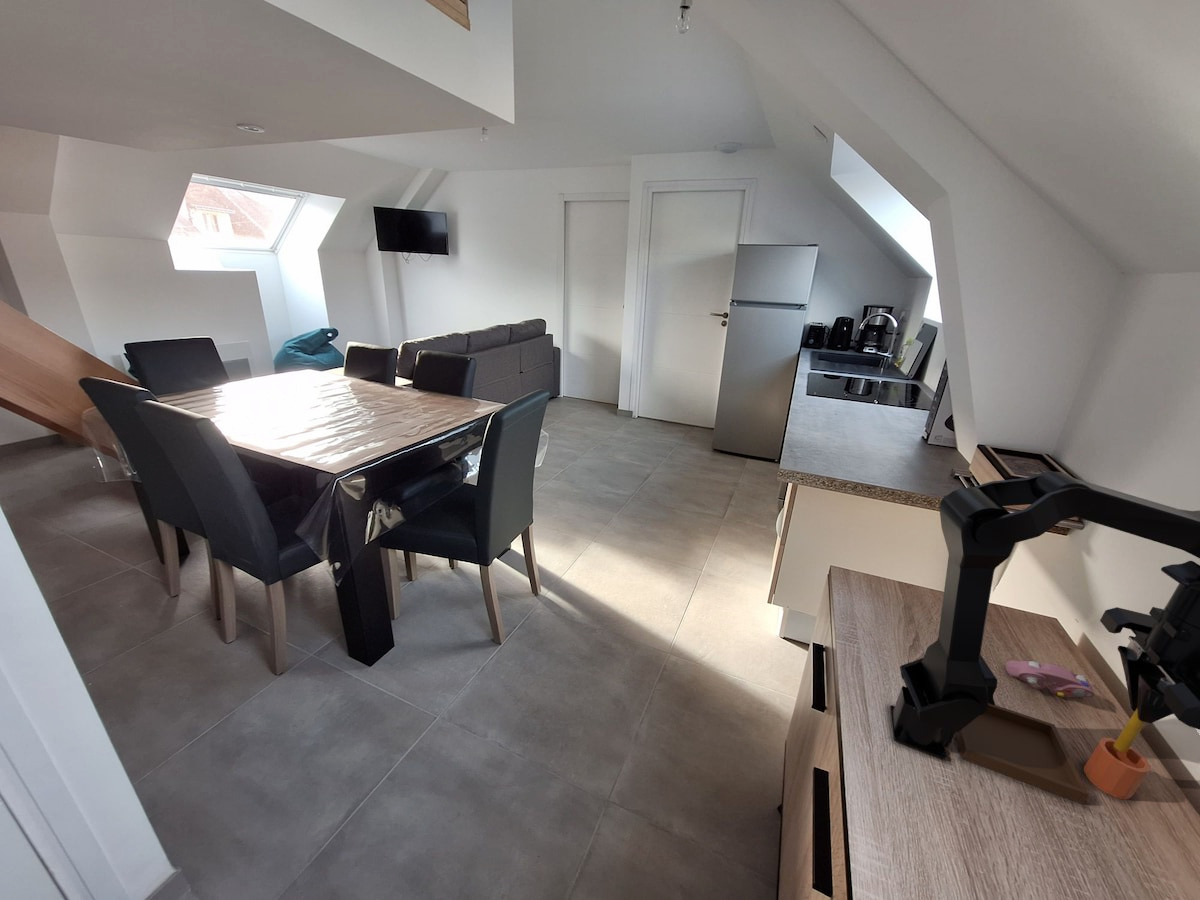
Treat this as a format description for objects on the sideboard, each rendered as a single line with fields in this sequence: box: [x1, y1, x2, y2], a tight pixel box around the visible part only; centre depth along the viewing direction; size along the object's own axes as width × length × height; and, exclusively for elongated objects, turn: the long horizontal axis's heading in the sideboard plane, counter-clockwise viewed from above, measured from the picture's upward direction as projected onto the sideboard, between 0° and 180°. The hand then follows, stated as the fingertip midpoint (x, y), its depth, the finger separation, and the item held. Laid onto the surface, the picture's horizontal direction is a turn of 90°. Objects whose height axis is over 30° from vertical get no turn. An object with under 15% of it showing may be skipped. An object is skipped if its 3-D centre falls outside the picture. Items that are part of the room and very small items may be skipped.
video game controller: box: [1005, 659, 1095, 699], centre depth 76 cm, size 10×5×7 cm, turn 65°
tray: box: [954, 704, 1090, 805], centre depth 67 cm, size 13×11×2 cm
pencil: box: [1114, 709, 1147, 753], centre depth 59 cm, size 1×1×9 cm
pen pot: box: [1083, 737, 1152, 800], centre depth 62 cm, size 5×5×6 cm
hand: (1140, 716), depth 58 cm, fingers closed on pencil, 1 cm apart
